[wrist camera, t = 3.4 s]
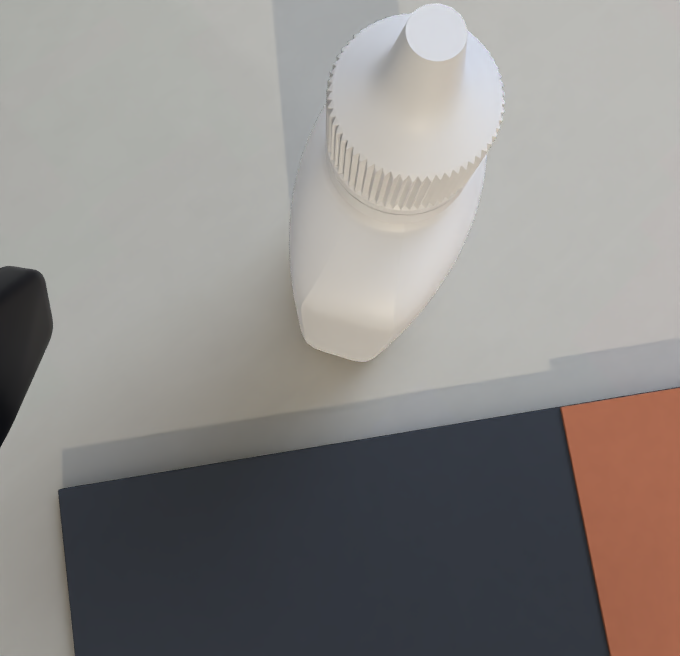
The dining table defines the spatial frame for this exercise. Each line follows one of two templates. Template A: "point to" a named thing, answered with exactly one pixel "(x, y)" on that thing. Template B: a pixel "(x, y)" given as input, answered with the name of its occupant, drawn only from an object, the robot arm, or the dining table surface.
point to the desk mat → (396, 544)
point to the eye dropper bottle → (390, 178)
